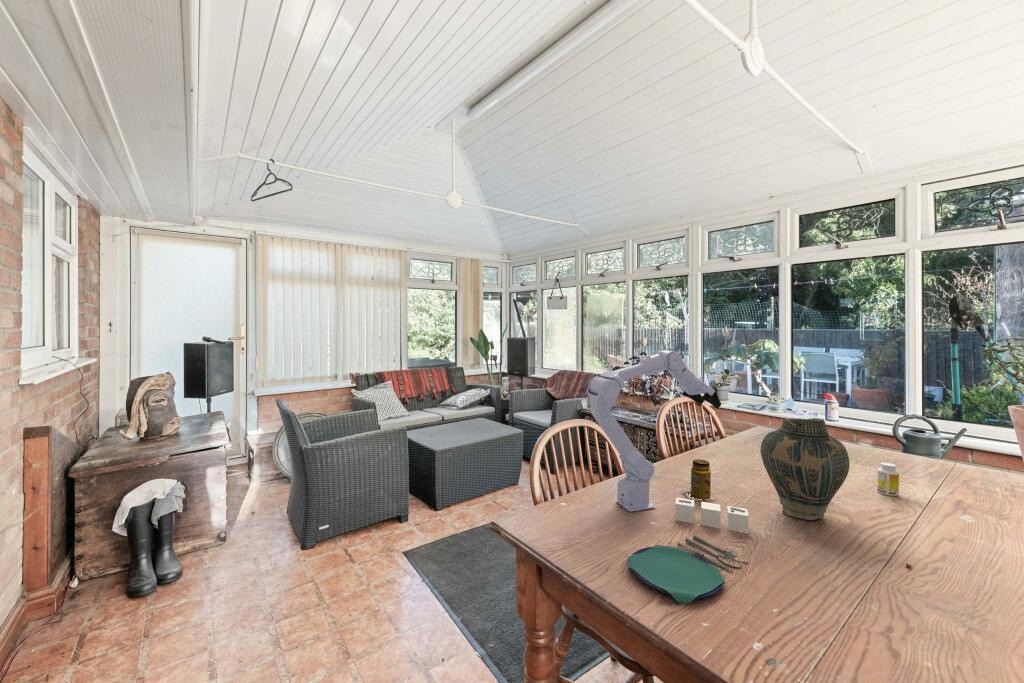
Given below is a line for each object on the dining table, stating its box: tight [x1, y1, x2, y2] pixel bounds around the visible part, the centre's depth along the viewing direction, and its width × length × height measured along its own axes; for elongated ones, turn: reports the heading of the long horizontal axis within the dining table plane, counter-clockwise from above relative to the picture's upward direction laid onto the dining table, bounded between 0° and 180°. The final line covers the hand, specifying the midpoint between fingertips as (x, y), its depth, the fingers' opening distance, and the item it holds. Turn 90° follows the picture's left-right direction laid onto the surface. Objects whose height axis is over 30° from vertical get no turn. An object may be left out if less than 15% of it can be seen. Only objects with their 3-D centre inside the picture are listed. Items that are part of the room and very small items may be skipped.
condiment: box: [680, 459, 717, 502], centre depth 140 cm, size 7×8×12 cm
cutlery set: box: [627, 535, 742, 605], centre depth 97 cm, size 20×30×2 cm, turn 122°
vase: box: [760, 417, 850, 521], centre depth 126 cm, size 22×22×30 cm
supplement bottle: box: [876, 462, 900, 497], centre depth 143 cm, size 6×6×10 cm
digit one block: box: [674, 497, 695, 524], centre depth 124 cm, size 5×5×5 cm
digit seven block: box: [726, 505, 750, 533], centre depth 118 cm, size 5×5×5 cm
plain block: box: [700, 501, 722, 529], centre depth 121 cm, size 5×5×5 cm
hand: (710, 404), depth 140 cm, fingers open, 7 cm apart
